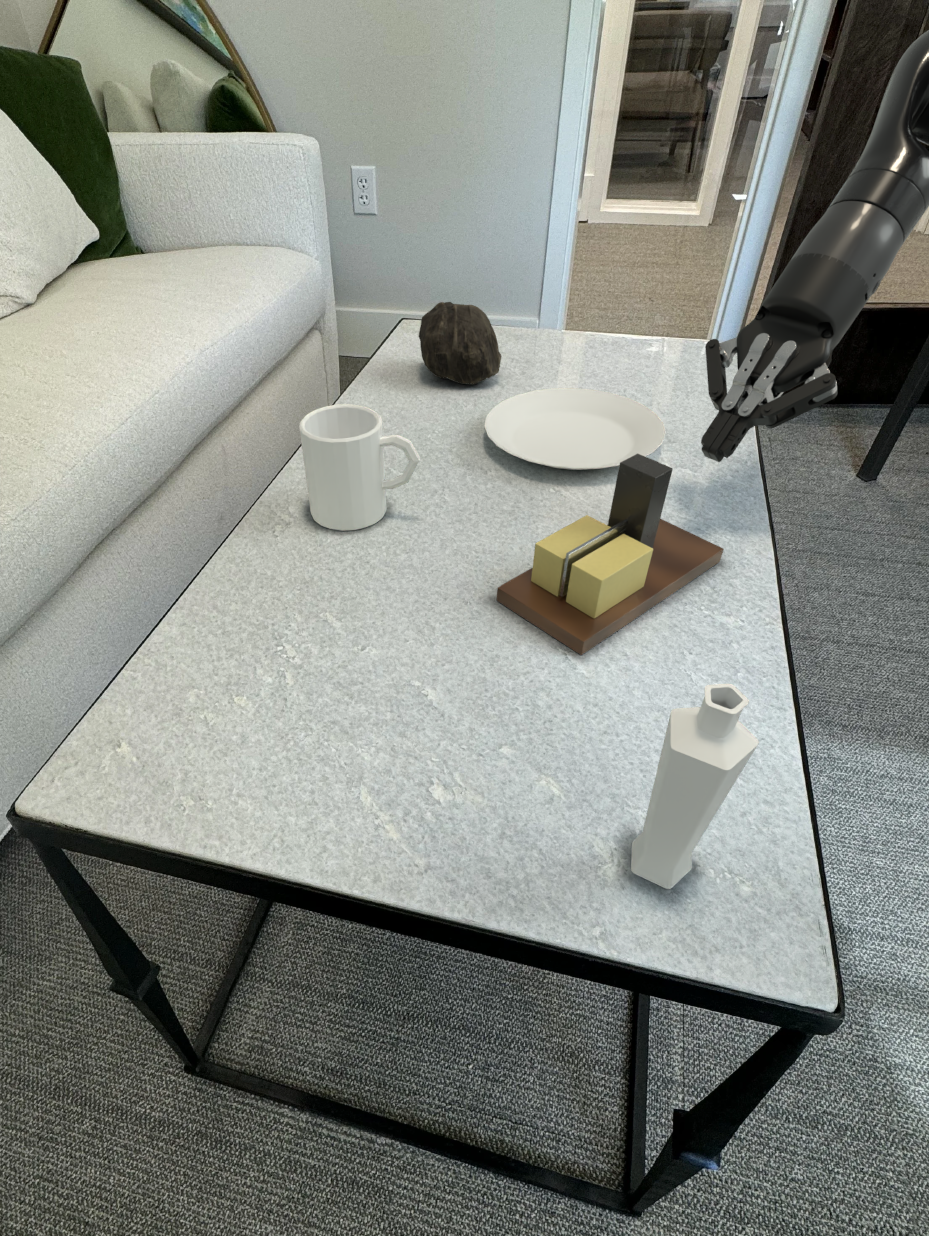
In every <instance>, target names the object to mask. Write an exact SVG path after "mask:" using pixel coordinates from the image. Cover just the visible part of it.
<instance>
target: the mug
mask: <svg viewBox="0 0 929 1236" xmlns="http://www.w3.org/2000/svg"><path fill="white" fill-rule="evenodd" d="M298 430H299V436H300V445H301V451H302V458H303V466H304V473H305V481H306V487H307V495H308V503H309V510H310V514H311V516H312V519H313V520H314V522H316V523H317V524H319V525H320V526H321V527H324V528H327V529H329V530H334V531H343V532H344V531H356V530H357V531H358V530H361V529H365V528H369V527H370V526H373V525H375V524H377V523H378V522H380V521H381V520H382V519H383V518H384V516H385V514H386V513H387V490H394V489H396V488H399V487H402V486H403V485H404V486H405V485H406V484H408V483H410V480H411V478H412V476H413V474H414V473H415V470H416V469H417V466H418V464H419V462H420V460H421V456H420V455H419V453H418V451H417V449H416V448H415V446H414V445H413V442H412V441H411V440H410V439H408V438H407V437H404V436H401V435H399V434H392V435H391V434H390V435H385V436H384V431H383V418H382V416H381V415H380V414H379V412H377V411H375V410H373V409H371V408H370V407H366V406H364V405H360V404H352V403H351V404H350V403H344V404H343V403H342V404H332V405H326V406H323V407H319V408H316V409H314V410H312V411H311V412H308V413H307V414H306V415H305V416H304V417H303V418H302V419H301V420H300V421H299V426H298ZM389 446H392V447H395V448H396V449H398V450H402V451H403V453H404V454H405V455H404V456H405V457H406V459H407V460H408V462H407V464H406V466H405V468H404V470H403V472H402V474H399V475H397V476H395V477H393V478H388V479H386V469H385V468H386V467H385V451H384V450H385V449H384V447H389Z"/></svg>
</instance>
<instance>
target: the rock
mask: <svg viewBox="0 0 929 1236" xmlns="http://www.w3.org/2000/svg"><path fill="white" fill-rule="evenodd" d="M418 338H419V342H420V345H419V346H420V353H421V358H422V361H423V364H424V366H425V367H426V368H427V370H428V372H430V373H431V374H433V376H435V377H437V378H440V379H443V380H444V379H445V380H446V379H449V380H450V381H452V382H456V383H458V384H462V385H477V384H479V383H481V382H484V381H485V380H487V379H490V378H492V377H494V376H495V375H498V374H499V372H500V368H501V362H502V354H501V352H500V350H499V341H498V339H497V335H496V332H495V330H494V328H493V325H492V322H491V320H490V318H489V316H488V314H486V313H485V312H484V311H483V309H481V308H480V307H478V306H476V305H474V304H463V303H461V304H460V303H454V302H452V301H445V302H443V301H440V302H438V303H437V304H435V305H434V306H433V308H431V309H430V310H428V311H427V312H426V313H425V314H424V315H422V317H421V320H420V327H419V331H418Z"/></svg>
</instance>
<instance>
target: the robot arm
mask: <svg viewBox="0 0 929 1236" xmlns="http://www.w3.org/2000/svg"><path fill="white" fill-rule="evenodd" d="M874 121H875V122H874V125H873V126H872V129H871V133H870V135H869V138H868V139H867V142H866V145H865V147H864V149H863V151H862V153H861V155H860V157H859V159H858V161H857V162H856V164H855V166H854V167H853V169H852V170H851V172H850V173H849V176H848V177H847V179H846V181H845V182H844V183H843V185H842V187H841V188H840V189H839V190H838V192H837V194H836V195H835V197H834V198H833V200H832V202H831V203H830V205H829V206H828V208H826V210H825V212H824V213H823V215H822V216H821V218H820V219H819V220H818V221H817V222H816V223H815V224H814V225H813V226H812V228H811V229H810V231H809V232H808V234H807V235H806V236H805V237H804V239H803V240H802V242H801V244H800V245H799V246H798V248H797V249H796V250H795V252H794V254H793V256H792V257H791V259H790V260H789V261H788V263H787V265H786V266H785V268H784V269H783V271H782V272H781V273H780V275H779V277H778V279H777V280H776V281H775V283H774V285H773V286H772V287H771V289H770V291H769V292H768V294H767V295H766V296H765V298H764V300H763V301H762V303H761V304H760V306H759V308H758V311H757V313H756V315H755V317H754V318H753V319H752V320H751V321H750V322H749V323H748V324H747V325H745V326H744V327H743V328H741V330H740V331H739V332H738V334H737V336H736V337H733V338H729V339H728V340H724V341H722V342H720V341H719V340H718V338H711V339H709V340H708V341H707V342H706V344H705V361H706V375H707V389H708V395H709V396H708V397H709V398H710V400H711V402H712V405H713V408H714V409H715V410H716V411H718V412H717V414H716V415H715V417H714V418H713V420H712V422H711V423H710V425H709V426H708V428H707V429H706V431H705V432H704V434H703V435H702V437H701V440H700V444H701V445H702V446H701V452H702V454H703V456H704V457H705V458H708V459H710V460H712V461H715V462H718V463H720V462H722V461H723V459H724V458H726V459H728V458H729V457H731V456H732V455H733V454H734V453H735V451H736V450H737V448H738V446H739V445H740V444H741V442H742V441H743V439H744V438H745V436H746V435H747V433H748V432H749V431H750V430H751V429H753V428H754V427H759V426H761V427H763V426H765V427H766V428H767V429H768V430H769V429H775V428H777V427H778V426H781V425H782V424H786V423H787V422H789V421H791V420H794V419H796V418H798V417H799V416H802V415H804V414H806V413H807V412H808V413H809V412H810V411H812V410H814V409H816V408H818V407H820V406H822V405H825V404H826V403H829V402H830V401H832V400H834V399H835V398H836V397H837V396H838V383H837V380H836V375H835V374H834V373H832V372H831V371H830V369H829V368H828V367H829V366H830V364H831V362H832V355H833V351H834V349H835V348H836V347H837V346H838V345H839V343H840V342H841V340H842V339H843V337H844V335H845V334H846V333H847V332H848V331H849V329H850V327H851V326H852V324H853V323H854V321H855V320H856V318H858V316H859V314H860V313H861V311H862V310H863V308H864V307H865V306H866V304H867V302H868V301H869V300H870V298H871V297H872V296H873V295H874V294H875V293H876V292H877V290H878V288H879V287H880V285H881V283H882V281H883V279H884V278H885V276H886V275H887V273H888V271H889V269H890V267H892V264H893V262H894V260H895V258H896V256H897V254H898V252H899V251H900V249H901V247H903V245H904V243H905V242H906V240H907V239H908V238H909V236H910V235H911V233H912V231H913V230H914V229H915V227H916V226H917V224H918V223H919V221H920V220H921V218H922V217H923V216H924V214H925V213H926V211H927V209H928V208H929V150H928V149H927V148H926V147H925V146H924V144H925V145H927V146H928V147H929V29H928V30H927V31H924V33H922V34H921V35H919V37H918V38H917V39H915V40H913V42H912V43H911V44H910V45H909V47H907V49H906V50H905V52H904V53H903V54H902V56H901V57H900V59H899V60H898V62H897V64H896V66H895V68H894V69H893V71H892V74H891V76H890V79H889V81H888V83H887V86H886V88H885V90H884V94H883V96H882V100H881V103H880V105H879V109H878V112H877V115H876V118H875V120H874ZM735 355H736V363H737V371H736V373H735V375H734V377H733V379H732V384H731V386H730V389H729V390H728V386H727V385H728V384H727V372H726V369H727V368H730V366H731V364H732V363H733V359H734V357H735ZM803 383H804V384H803ZM801 384H802V385H801ZM797 386H798V387H797ZM795 387H796V388H795ZM787 391H788V392H787ZM784 393H785V394H784Z"/></svg>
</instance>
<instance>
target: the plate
mask: <svg viewBox="0 0 929 1236" xmlns="http://www.w3.org/2000/svg"><path fill="white" fill-rule="evenodd" d="M483 425H484V426H483V427H484V429H485V432H486V435H487V438H488V439H489V440H491V442H492V443H493V444H494V445H495V446H496V447H497V448H499V449H501V450H503V451H505V452H506V453H508V454H509V455H511V456H514V457H516V458H519V459H521V460H524V461H527V462H529V463H533V464H537V465H541V466H546V467H548V468H549V467H550V468H554V469H560V470H568V471H582V470H583V471H584V470H585V471H586V470H587V471H588V470H598V469H600V470H601V469H607V468H614V467H619V465H620V462H622V461H624V460H626V459H628V458H630V457H632V456H634V455H636V454H640V455H642V456H645V457H647V456H650V455H651V454H653V453H655V452H656V451H657V449H658V448H659V447H660V446H661V445H662V444H663V443H664V440H665V437H666V435H667V434H666V433H667V432H666V428H665V423H664V421H663V420H662V419H661V418H660V417H659V415H658V414H657V413H656V412H655V411H653V410H652V409H650V408H649V407H648V406H647V405H645V404H642V403H641V402H638V401H636V400H634V399H632V398H630V397H626V396H623V395H620V394H616V393H613V392H609V391H603V390H597V389H591V388H580V387H579V388H578V387H552V388H543V389H537V390H530V391H527V392H522V393H519V394H516V395H513V396H511V397H508V398H506V399H504V400H502V401H500V402H499V403H498V404H496V405H495V406H493V407H492V408H491V409H490V410H489V412H488V413H487V415H486V416H485V418H484V424H483Z"/></svg>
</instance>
